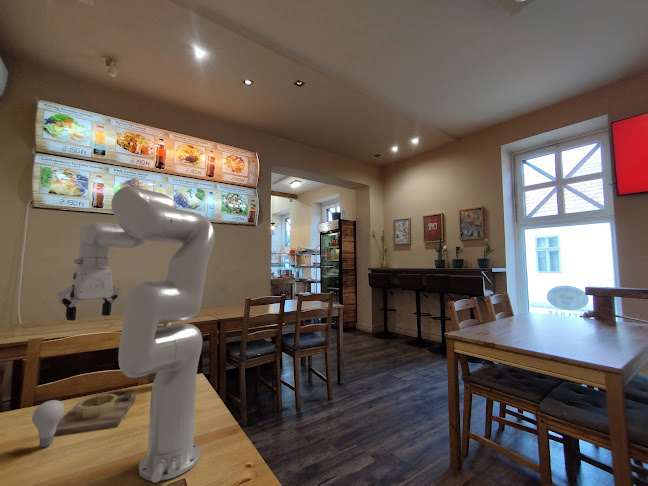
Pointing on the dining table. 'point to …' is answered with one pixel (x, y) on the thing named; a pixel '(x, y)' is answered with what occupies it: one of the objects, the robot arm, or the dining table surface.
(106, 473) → the dining table surface
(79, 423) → the lamp base
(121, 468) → the dining table surface
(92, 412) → the holder ring
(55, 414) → the lightbulb
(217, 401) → the dining table surface
